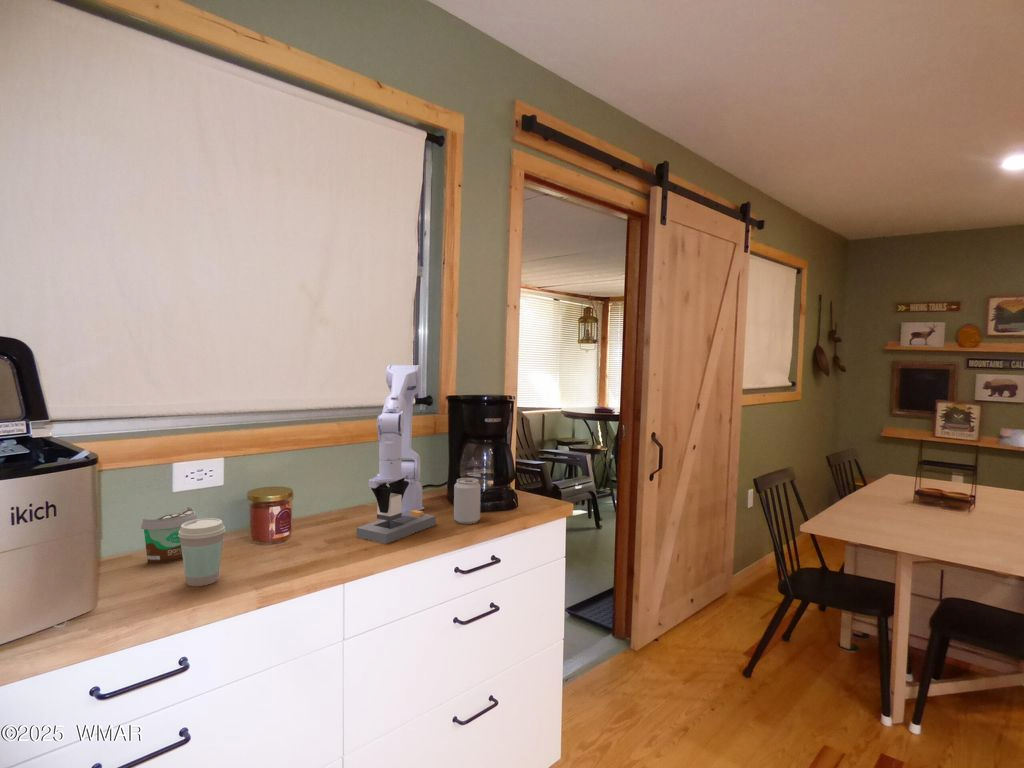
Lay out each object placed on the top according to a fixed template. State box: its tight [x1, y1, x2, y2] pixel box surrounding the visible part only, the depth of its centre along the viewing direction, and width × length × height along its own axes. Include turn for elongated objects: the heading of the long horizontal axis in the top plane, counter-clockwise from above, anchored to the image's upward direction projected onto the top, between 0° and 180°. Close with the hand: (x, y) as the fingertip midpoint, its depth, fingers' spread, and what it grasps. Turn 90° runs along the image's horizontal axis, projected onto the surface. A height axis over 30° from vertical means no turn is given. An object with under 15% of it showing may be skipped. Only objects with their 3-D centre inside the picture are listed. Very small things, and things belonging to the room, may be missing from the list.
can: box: [453, 477, 482, 525], centre depth 166 cm, size 8×8×12 cm
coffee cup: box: [178, 517, 226, 587], centre depth 119 cm, size 8×8×12 cm
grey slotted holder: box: [356, 510, 437, 545], centre depth 156 cm, size 20×10×4 cm, turn 150°
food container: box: [140, 506, 198, 564], centre depth 133 cm, size 12×6×10 cm, turn 160°
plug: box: [376, 493, 402, 521], centre depth 153 cm, size 4×4×6 cm
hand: (390, 510), depth 153 cm, fingers closed on plug, 4 cm apart
